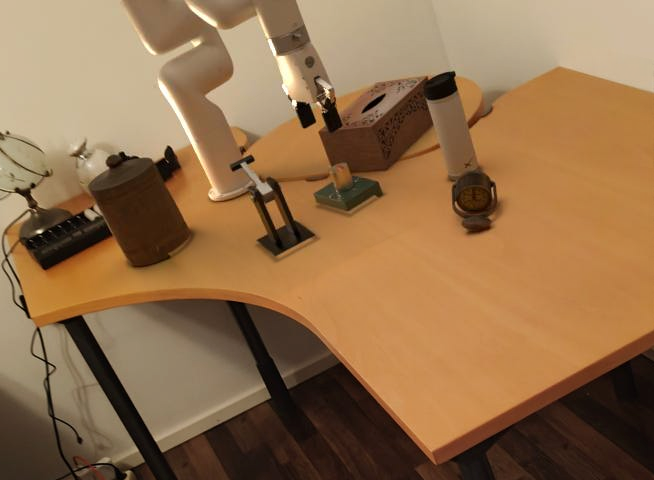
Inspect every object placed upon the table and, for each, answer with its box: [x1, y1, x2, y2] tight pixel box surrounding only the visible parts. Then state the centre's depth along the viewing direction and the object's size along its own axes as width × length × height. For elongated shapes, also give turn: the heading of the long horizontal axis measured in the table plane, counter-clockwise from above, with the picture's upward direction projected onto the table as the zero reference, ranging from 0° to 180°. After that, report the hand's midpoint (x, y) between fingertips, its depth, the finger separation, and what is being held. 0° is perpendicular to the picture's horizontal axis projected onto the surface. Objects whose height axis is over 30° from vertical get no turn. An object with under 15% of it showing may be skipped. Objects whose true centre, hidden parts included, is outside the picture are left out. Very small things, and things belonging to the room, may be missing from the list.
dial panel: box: [312, 174, 384, 212], centre depth 175 cm, size 12×9×3 cm
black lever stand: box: [247, 175, 316, 257], centre depth 165 cm, size 11×9×13 cm
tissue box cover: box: [317, 75, 434, 173], centre depth 193 cm, size 26×14×10 cm, turn 150°
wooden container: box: [87, 154, 191, 267], centre depth 180 cm, size 15×15×22 cm
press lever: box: [229, 153, 275, 205], centre depth 165 cm, size 12×5×2 cm, turn 29°
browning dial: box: [328, 163, 354, 192], centre depth 173 cm, size 4×4×5 cm
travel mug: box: [423, 70, 480, 182], centre depth 164 cm, size 6×7×20 cm
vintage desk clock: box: [450, 170, 498, 232], centre depth 151 cm, size 7×13×10 cm
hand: (322, 127), depth 167 cm, fingers open, 9 cm apart
